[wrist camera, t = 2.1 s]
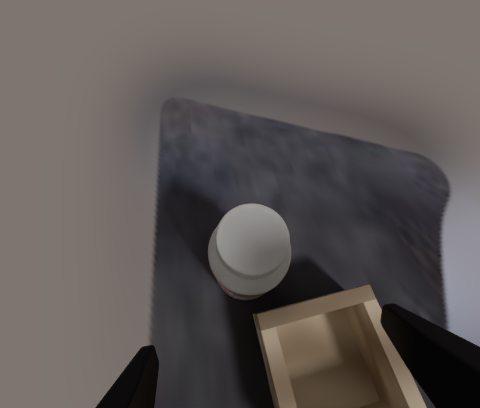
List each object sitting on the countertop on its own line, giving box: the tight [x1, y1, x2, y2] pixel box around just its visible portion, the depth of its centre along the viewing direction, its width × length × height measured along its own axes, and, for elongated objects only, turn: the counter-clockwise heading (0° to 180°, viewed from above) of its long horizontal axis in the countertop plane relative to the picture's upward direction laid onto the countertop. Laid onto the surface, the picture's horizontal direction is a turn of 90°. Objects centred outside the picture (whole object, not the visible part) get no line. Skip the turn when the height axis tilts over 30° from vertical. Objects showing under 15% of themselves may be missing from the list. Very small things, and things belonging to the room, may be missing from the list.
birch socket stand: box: [253, 285, 427, 408], centre depth 16 cm, size 8×8×4 cm
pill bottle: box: [208, 204, 291, 300], centre depth 16 cm, size 5×5×10 cm
